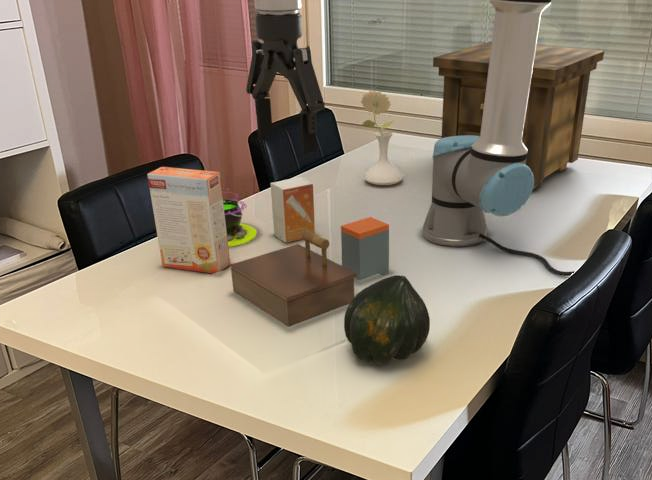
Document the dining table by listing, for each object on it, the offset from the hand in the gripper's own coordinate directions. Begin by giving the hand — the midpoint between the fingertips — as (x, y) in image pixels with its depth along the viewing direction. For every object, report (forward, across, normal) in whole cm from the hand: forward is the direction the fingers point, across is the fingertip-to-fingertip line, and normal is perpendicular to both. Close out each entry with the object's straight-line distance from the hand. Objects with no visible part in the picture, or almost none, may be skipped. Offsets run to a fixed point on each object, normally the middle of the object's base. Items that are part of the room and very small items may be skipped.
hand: (286, 143), depth 128 cm
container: (+31, 0, +18) cm, 36 cm away
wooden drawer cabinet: (+31, -28, +97) cm, 106 cm away
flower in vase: (+31, -45, +62) cm, 83 cm away
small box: (+31, -28, +19) cm, 46 cm away
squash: (+31, +27, 0) cm, 41 cm away
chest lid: (+25, 0, 0) cm, 25 cm away
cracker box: (+31, -27, -7) cm, 42 cm away
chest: (+31, 0, -1) cm, 31 cm away
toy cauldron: (+31, -39, +7) cm, 50 cm away
